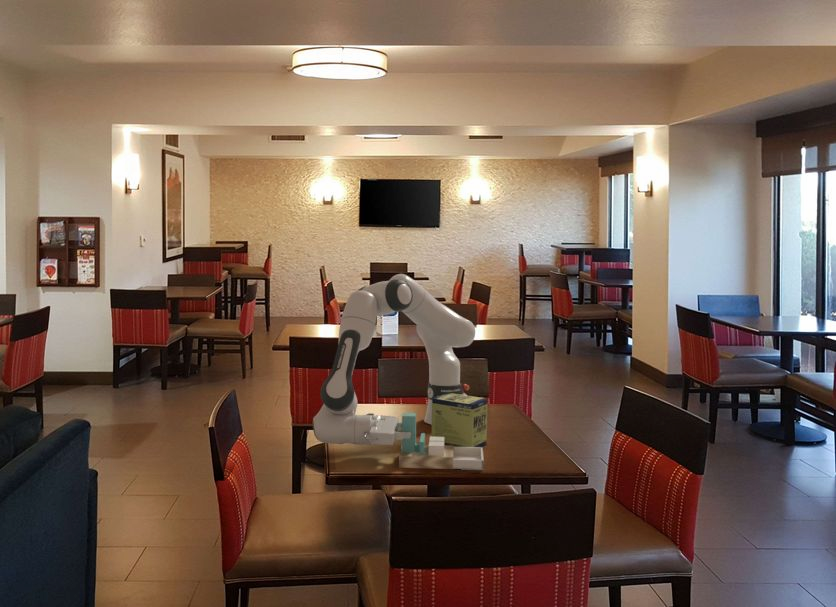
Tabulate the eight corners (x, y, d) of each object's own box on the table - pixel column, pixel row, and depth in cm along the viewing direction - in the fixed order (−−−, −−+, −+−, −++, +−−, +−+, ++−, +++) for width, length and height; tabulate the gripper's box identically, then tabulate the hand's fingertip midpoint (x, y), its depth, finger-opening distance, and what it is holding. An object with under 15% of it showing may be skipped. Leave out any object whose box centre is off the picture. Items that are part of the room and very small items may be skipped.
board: (398, 467, 249) (398, 456, 249) (401, 455, 262) (401, 444, 262) (452, 469, 249) (453, 457, 248) (453, 456, 261) (453, 445, 261)
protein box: (472, 452, 267) (473, 404, 265) (430, 444, 275) (431, 397, 273) (487, 444, 275) (488, 398, 274) (446, 437, 284) (447, 392, 282)
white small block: (428, 455, 250) (428, 445, 250) (429, 451, 254) (429, 441, 254) (443, 455, 250) (443, 446, 249) (443, 451, 254) (444, 441, 254)
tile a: (429, 450, 256) (429, 440, 255) (429, 446, 260) (429, 436, 260) (444, 450, 255) (444, 440, 255) (444, 446, 260) (444, 436, 260)
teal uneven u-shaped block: (401, 454, 250) (401, 418, 249) (403, 445, 260) (403, 410, 259) (423, 455, 250) (424, 419, 249) (424, 446, 260) (425, 411, 259)
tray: (452, 469, 248) (453, 459, 248) (453, 455, 262) (453, 446, 262) (483, 470, 248) (483, 460, 247) (482, 456, 262) (482, 447, 261)
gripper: (362, 428, 245) (409, 429, 244) (369, 411, 265) (413, 412, 264) (362, 449, 245) (409, 450, 245) (369, 431, 266) (413, 432, 265)
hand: (411, 430), depth 255 cm, fingers open, 8 cm apart
